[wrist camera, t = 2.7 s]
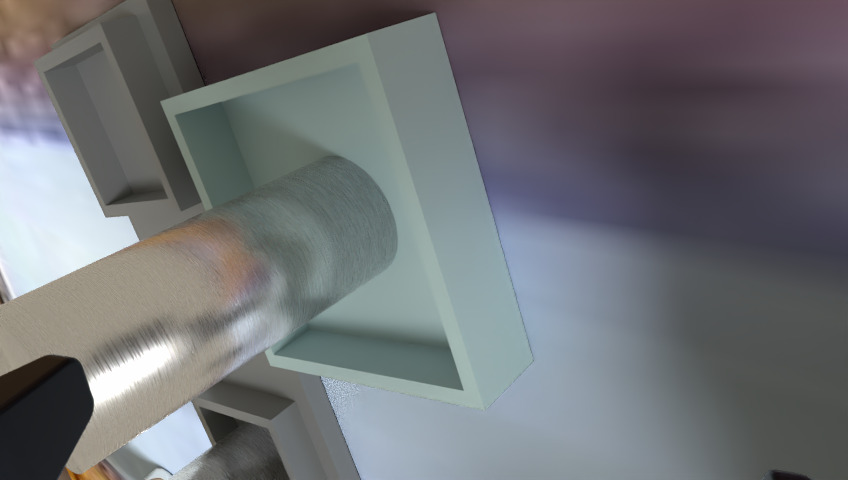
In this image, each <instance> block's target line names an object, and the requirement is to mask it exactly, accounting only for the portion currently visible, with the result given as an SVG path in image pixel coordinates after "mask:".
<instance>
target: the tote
mask: <svg viewBox="0 0 848 480" xmlns="http://www.w3.org/2000/svg"><path fill="white" fill-rule="evenodd" d="M160 103H161V105H162V107H163V110H164V112H165V115H166V117H167V119H168V122H169V124H170V127H171V129H172V131H173V134H174V136H175V139H176V141H177V143H178V146H179V148H180V151H181V153H182V155H183V158H184V160H185V162H186V165H187V167H188V170H189V172H190V174H191V177H192V179H193V182H194V184H195V186H196V189H197V191H198V194H199V196H200V198H201V201H202V203H203V206H204V208H205V210H206V211H207V210H209V209H211V208H213V207H216V206H218V205H220V204H222V203H224V202H226V201H229V200H231V199H233V198H235V197H237V196H239V195H242V194H244V193H246V192H248V191H250V190H252V189H255V188H257V187H259V186H261V185H263V184H266V183H268V182H270V181H272V180H274V179H276V178H279V177H281V176H283V175H285V174H287V173H289V172H292V171H294V170H296V169H298V168H300V167H303V166H305V165H307V164H309V163H311V162H313V161H316V160H318V159H320V158H322V157H326V156H338V157H342V158H345V159H347V160H350V161H352V162H353V163H355V164H357V165H358V166H359V167H361V168H362V169H363V170H364V171H366V172H367V173H368V174H369V175H370V176H371V177H372V179H373V180H374V181H375V182H376V183H377V185H378V186H379V187H380V189H381V190H382V192H383V193H384V195H385V197H386V199H387V201H388V203H389V205H390V207H391V210H392V212H393V215H394V218H395V222H396V227H397V234H398V246H397V252H396V255H395V258H394V260H393V262H392V264H391V265H390V266H389V267H388V268H387V269H386V270H385V271H383V272H382V273H380V274H379V275H377V276H376V277H374V278H373V279H371V280H370V281H368V282H367V283H365V284H364V285H362V286H361V287H359V288H358V289H356V290H355V291H353V292H352V293H350V294H349V295H348V296H346V297H345V298H343V299H342V300H340V301H339V302H337V303H336V304H334V305H333V306H331V307H330V308H328V309H327V310H325V311H324V312H322V313H321V314H319V315H318V316H316V317H315V318H313V319H312V320H310V321H309V322H307V323H306V324H304V325H303V326H301V327H300V328H298V329H297V330H295V331H294V332H292V333H291V334H289V335H288V336H286V337H285V338H283V339H282V340H280V341H279V342H277V343H276V344H274V345H273V346H271V347H270V348H269V349H267V350H266V351H265V354H266V356H267V359H268V361H269V363H270V366H274V367H279V368H284V369H288V370H293V371H298V372H303V373H307V374H312V375H317V376H322V377H326V378H331V379H336V380H341V381H345V382H350V383H355V384H360V385H364V386H369V387H374V388H379V389H383V390H388V391H393V392H398V393H402V394H407V395H412V396H417V397H421V398H426V399H431V400H436V401H440V402H445V403H450V404H455V405H459V406H464V407H469V408H474V409H478V410H483V411H486V410H487V409H488V408H489V406H490V405H491V404H492V403H493V402H494V401H495V400H496V399H497V398H498V397H499V396H500V395H501V394H502V393H503V392H504V391H505V390H506V389H507V388H508V387H509V386H510V385H511V384H512V383H513V382H514V381H515V380H516V379H517V378H518V376H519V375H520V374H521V373H522V372H523V371H524V370H525V369H526V368H527V367H528V366H529V365H530V364H531V363H532V362H533V361H534V360H533V356H532V353H531V349H530V346H529V342H528V339H527V335H526V332H525V328H524V325H523V321H522V317H521V314H520V310H519V307H518V303H517V300H516V296H515V293H514V289H513V286H512V282H511V278H510V275H509V271H508V268H507V264H506V261H505V257H504V254H503V250H502V247H501V243H500V239H499V236H498V232H497V229H496V225H495V222H494V218H493V215H492V211H491V208H490V204H489V201H488V197H487V193H486V190H485V186H484V183H483V179H482V176H481V172H480V169H479V165H478V162H477V158H476V154H475V151H474V147H473V144H472V140H471V137H470V133H469V130H468V126H467V123H466V119H465V115H464V112H463V108H462V105H461V101H460V98H459V94H458V91H457V87H456V84H455V80H454V77H453V73H452V69H451V66H450V62H449V59H448V55H447V52H446V48H445V45H444V41H443V38H442V34H441V30H440V27H439V23H438V20H437V16H436V13H435V12H434V13H431V14H428V15H425V16H422V17H418V18H415V19H412V20H409V21H405V22H402V23H399V24H396V25H392V26H389V27H386V28H383V29H380V30H376V31H373V32H370V33H367V34H364V35H360V36H357V37H354V38H351V39H348V40H345V41H342V42H339V43H336V44H333V45H330V46H327V47H324V48H321V49H318V50H315V51H312V52H309V53H306V54H303V55H300V56H297V57H294V58H291V59H287V60H284V61H281V62H278V63H275V64H272V65H269V66H266V67H263V68H260V69H257V70H254V71H251V72H248V73H245V74H242V75H239V76H236V77H233V78H230V79H227V80H224V81H221V82H217V83H214V84H211V85H208V86H205V87H202V88H199V89H196V90H193V91H190V92H187V93H184V94H181V95H178V96H175V97H172V98H169V99H166V100H163V101H160Z"/></svg>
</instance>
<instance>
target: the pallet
mask: <svg viewBox="0 0 848 480" xmlns="http://www.w3.org/2000/svg"><path fill="white" fill-rule="evenodd" d="M51 48H52V50H53V51H51V52H49V53H48V54H46V55H44V56H42V57H41V58H39V59H37V60H36V61H34V62H33V63H34V65H35V67H36V69H37V71H38V73H39V76H40V78H41V80H42V82H43V84H44V86H45V88H46V91H47V93H48V95H49V97H50V99H51V101H52V103H53V106H54V108H55V110H56V112H57V114H58V116H59V118H60V121H61V123H62V125H63V127H64V129H65V131H66V133H67V136H68V138H69V140H70V142H71V144H72V146H73V148H74V151H75V153H76V155H77V157H78V159H79V161H80V163H81V166H82V168H83V170H84V172H85V174H86V176H87V178H88V181H89V183H90V185H91V187H92V189H93V191H94V193H95V195H96V198H97V200H98V202H99V204H100V206H101V208H102V210H103V213H104V215H105V217H119V216H129V219H130V221H131V223H132V225H133V227H134V230H135V232H136V234H137V236H138V238H139V241H142V240H144V239H146V238H148V237H150V236H152V235H155V234H157V233H159V232H161V231H163V230H165V229H168V228H170V227H172V226H174V225H176V224H179V223H181V222H183V221H185V220H187V219H189V218H192V217H194V216H196V215H198V214H200V213H202V212H205V211H206V210H205V208H204V206H203V203H202V201H201V198H200V196H199V194H198V191H197V189H196V186H195V184H194V182H193V179H192V177H191V174H190V172H189V170H188V167H187V165H186V162H185V160H184V158H183V155H182V153H181V151H180V148H179V146H178V143H177V141H176V139H175V136H174V134H173V131H172V129H171V127H170V124H169V122H168V119H167V117H166V115H165V112H164V110H163V107H162V105H161V103H160V101H163V100H166V99H169V98H172V97H175V96H178V95H181V94H184V93H187V92H190V91H193V90H196V89H199V88H202V87H205V85H204V83H203V80H202V78H201V75H200V73H199V70H198V68H197V65H196V62H195V60H194V57H193V55H192V52H191V50H190V47H189V45H188V42H187V40H186V37H185V35H184V32H183V30H182V27H181V24H180V22H179V19H178V17H177V14H176V12H175V9H174V7H173V4H172V2H171V0H126V1H124V2H122V3H121V4H119V5H117V6H116V7H114V8H112V9H111V10H109V11H107V12H106V13H104V14H102V15H101V16H99V17H97V18H96V19H94V20H92V21H91V22H89V23H87V24H86V25H84V26H82V27H81V28H79V29H77V30H76V31H74V32H72V33H71V34H69V35H67V36H66V37H64V38H62V39H61V40H59V41H57V42H56V43H54V44H52V45H51ZM191 401H192V403H193V405H194V407H195V410H196V412H197V414H198V416H199V418H200V420H201V422H202V425H203V427H204V429H205V431H206V433H207V435H208V437H209V440H210V442H211V444H212V446H213V445H215V444H216V443H217V442H219V441H220V440H221V439H223V438H224V437H225V436H227V435H228V434H229V433H231V432H232V431H234V430H235V429H236V428H238V427H239V426H240V425H242V424H243V423H244V422H249V423H252V424H255V425H258V426H261V427H264V428H267V429H268V430H269V432H270V434H271V437H272V439H273V441H274V444H275V446H276V448H277V451H278V453H279V455H280V458H281V460H282V462H283V464H284V467H285V469H286V471H287V474H288V476H289V478H290V480H360V478H359V475H358V473H357V470H356V467H355V465H354V462H353V460H352V457H351V455H350V452H349V450H348V447H347V445H346V442H345V440H344V437H343V435H342V432H341V430H340V427H339V424H338V422H337V419H336V417H335V414H334V412H333V409H332V407H331V404H330V402H329V399H328V397H327V394H326V392H325V389H324V386H323V384H322V381H321V379H320V376H317V375H312V374H307V373H303V372H298V371H293V370H288V369H284V368H279V367H274V366H270V363H269V361H268V359H267V356H266V354H265V351H264V352H263V353H261V354H260V355H258V356H257V357H255V358H254V359H252V360H251V361H249V362H248V363H246V364H245V365H243V366H242V367H240V368H239V369H237V370H236V371H234V372H233V373H231V374H230V375H228V376H227V377H225V378H224V379H222V380H221V381H219V382H218V383H216V384H215V385H213V386H212V387H210V388H209V389H207V390H206V391H204V392H203V393H201V394H200V395H198V396H197V397H195V398H194V399H193V400H191Z"/></svg>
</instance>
